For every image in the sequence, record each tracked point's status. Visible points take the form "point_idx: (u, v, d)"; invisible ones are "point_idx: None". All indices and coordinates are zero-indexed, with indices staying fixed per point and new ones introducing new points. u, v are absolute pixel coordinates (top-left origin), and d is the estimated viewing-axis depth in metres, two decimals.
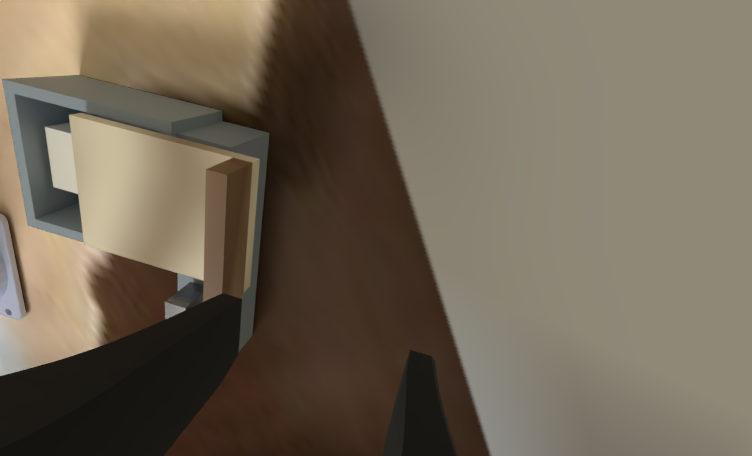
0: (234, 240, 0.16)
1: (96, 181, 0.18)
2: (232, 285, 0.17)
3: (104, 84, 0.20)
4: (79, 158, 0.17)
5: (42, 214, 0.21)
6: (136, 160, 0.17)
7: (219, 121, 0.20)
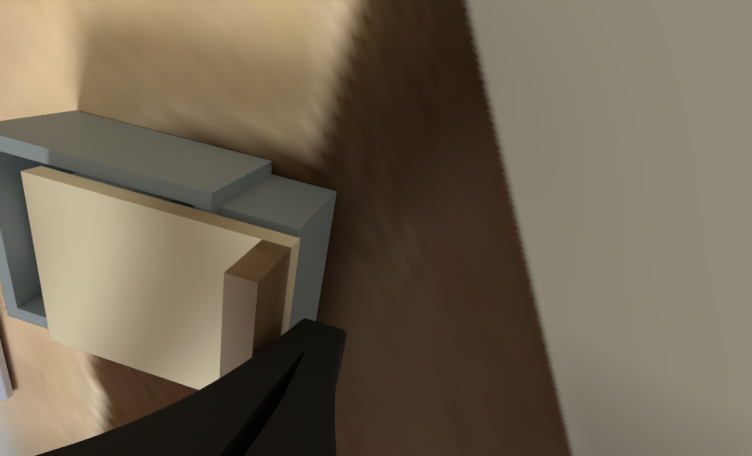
0: None
1: (63, 261, 0.12)
2: None
3: (111, 124, 0.15)
4: (38, 230, 0.12)
5: (27, 300, 0.15)
6: (119, 236, 0.12)
7: (268, 175, 0.15)
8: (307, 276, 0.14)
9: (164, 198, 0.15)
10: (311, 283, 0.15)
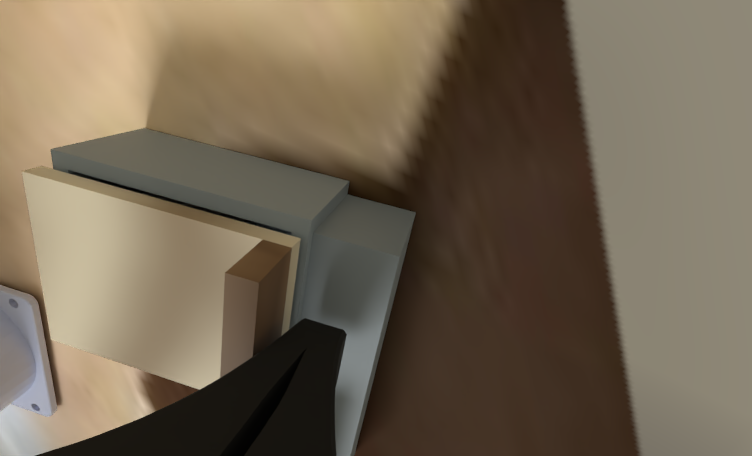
0: None
1: (64, 261, 0.12)
2: None
3: (183, 143, 0.15)
4: (39, 230, 0.12)
5: None
6: (120, 236, 0.12)
7: (345, 196, 0.14)
8: (391, 300, 0.14)
9: (238, 219, 0.15)
10: (390, 306, 0.14)
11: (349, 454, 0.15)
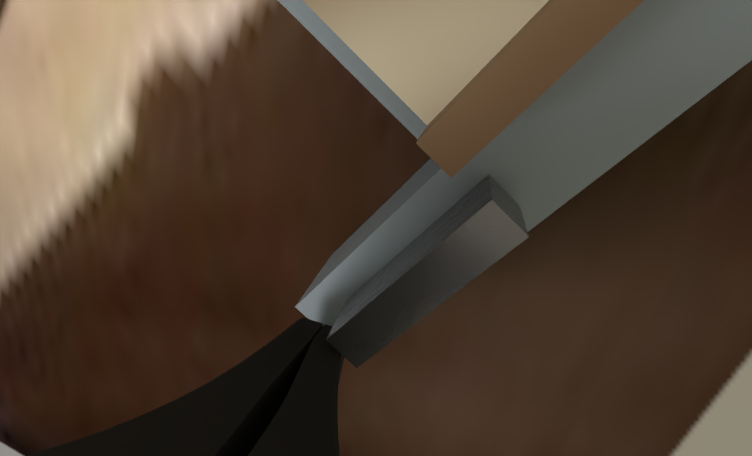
0: None
1: None
2: None
3: None
4: None
5: None
6: None
7: None
8: None
9: None
10: None
11: None
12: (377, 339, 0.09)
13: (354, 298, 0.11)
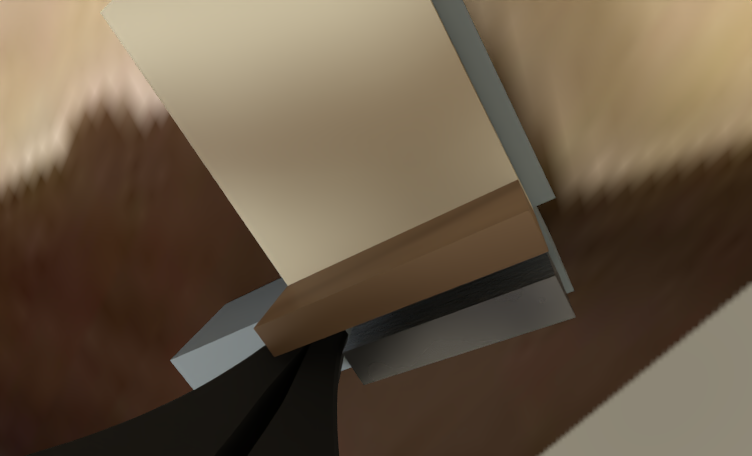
0: None
1: None
2: None
3: None
4: None
5: None
6: (360, 11, 0.08)
7: None
8: None
9: None
10: None
11: None
12: (394, 365, 0.10)
13: None
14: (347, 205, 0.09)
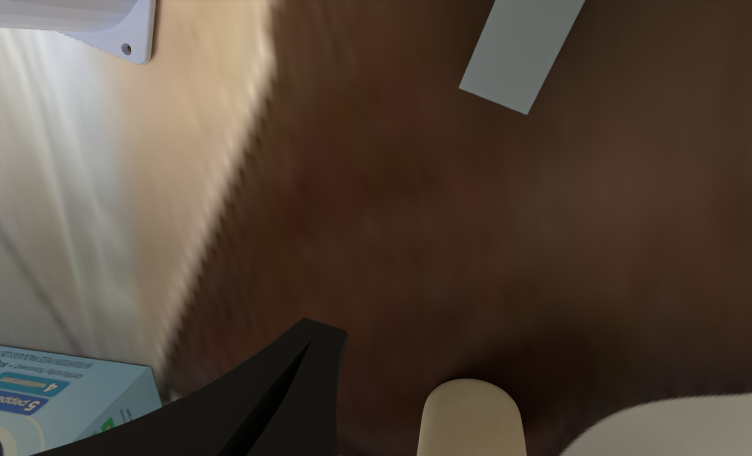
0: None
1: None
2: None
3: None
4: None
5: None
6: None
7: None
8: None
9: None
10: None
11: None
12: None
13: None
14: None
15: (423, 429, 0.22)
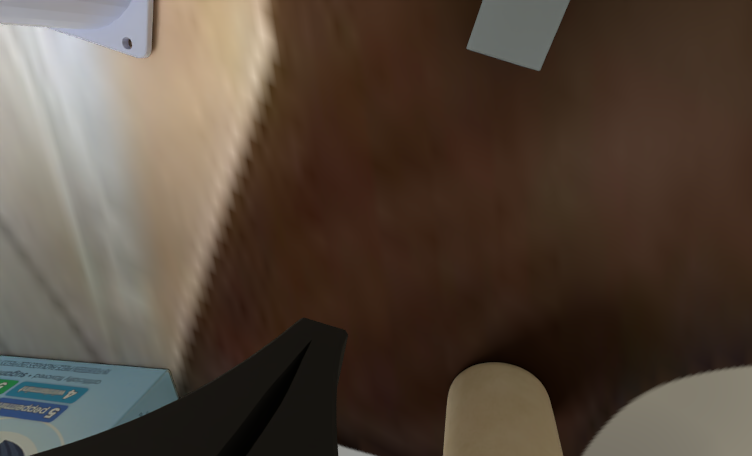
0: None
1: None
2: None
3: None
4: None
5: None
6: None
7: None
8: None
9: None
10: None
11: None
12: None
13: None
14: None
15: (449, 416, 0.21)
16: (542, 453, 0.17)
